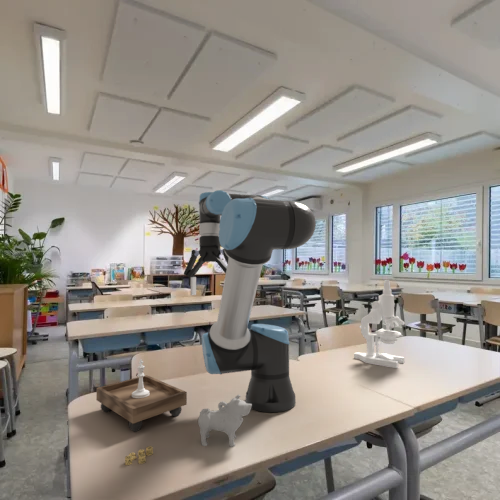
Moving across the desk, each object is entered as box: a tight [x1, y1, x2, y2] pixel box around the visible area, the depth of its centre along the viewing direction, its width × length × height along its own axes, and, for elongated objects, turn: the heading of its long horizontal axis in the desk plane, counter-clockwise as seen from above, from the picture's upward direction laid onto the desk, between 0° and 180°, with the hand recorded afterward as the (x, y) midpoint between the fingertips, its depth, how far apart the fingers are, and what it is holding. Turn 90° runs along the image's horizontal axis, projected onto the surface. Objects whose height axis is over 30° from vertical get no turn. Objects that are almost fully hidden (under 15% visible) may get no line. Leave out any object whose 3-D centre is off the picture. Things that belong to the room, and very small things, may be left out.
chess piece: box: [132, 359, 150, 398], centre depth 100 cm, size 5×5×10 cm
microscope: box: [353, 279, 406, 369], centre depth 150 cm, size 18×20×35 cm
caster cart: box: [96, 374, 188, 432], centre depth 99 cm, size 22×16×6 cm
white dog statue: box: [197, 394, 252, 448], centre depth 83 cm, size 5×13×11 cm, turn 87°
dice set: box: [124, 445, 154, 466], centre depth 76 cm, size 5×5×2 cm
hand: (210, 295), depth 124 cm, fingers open, 13 cm apart
